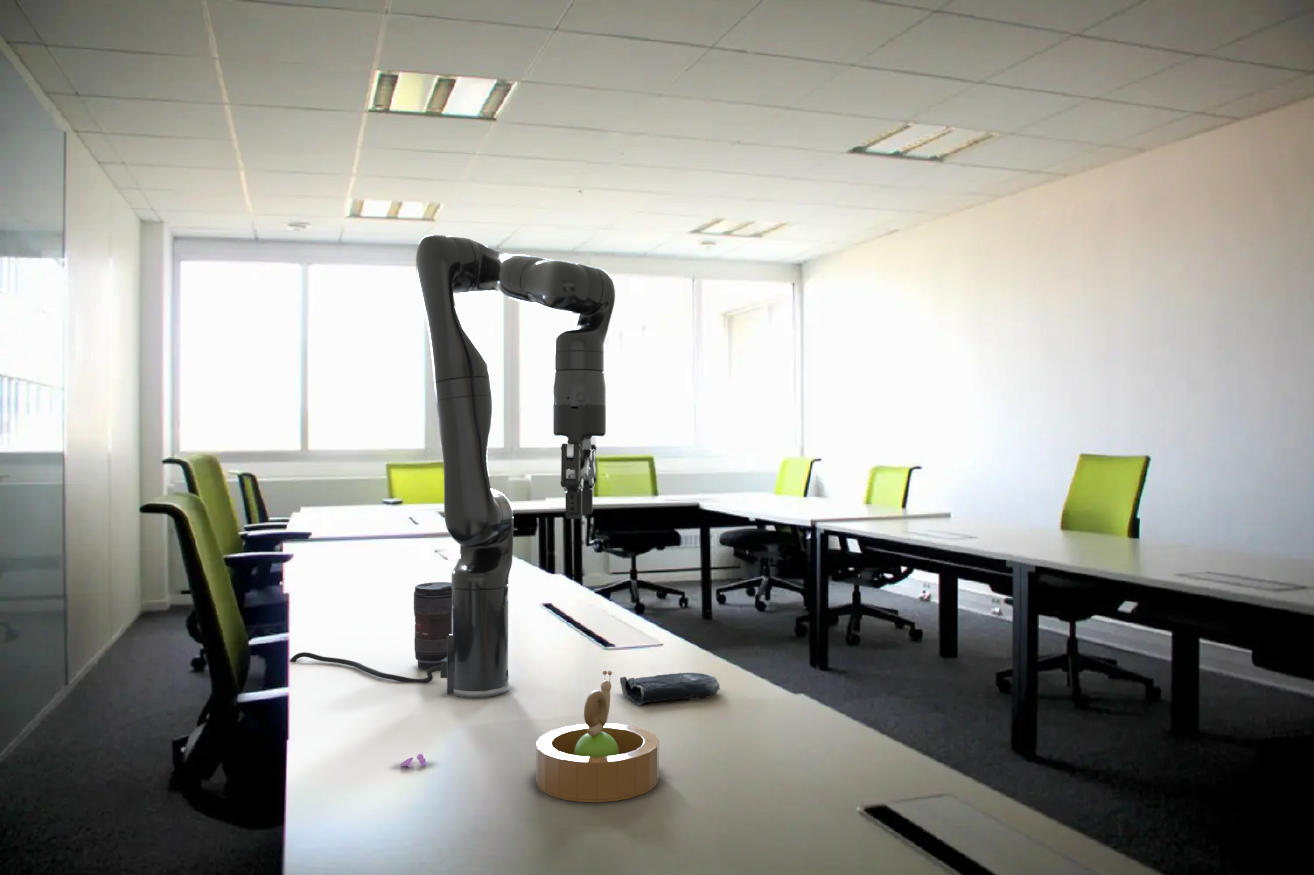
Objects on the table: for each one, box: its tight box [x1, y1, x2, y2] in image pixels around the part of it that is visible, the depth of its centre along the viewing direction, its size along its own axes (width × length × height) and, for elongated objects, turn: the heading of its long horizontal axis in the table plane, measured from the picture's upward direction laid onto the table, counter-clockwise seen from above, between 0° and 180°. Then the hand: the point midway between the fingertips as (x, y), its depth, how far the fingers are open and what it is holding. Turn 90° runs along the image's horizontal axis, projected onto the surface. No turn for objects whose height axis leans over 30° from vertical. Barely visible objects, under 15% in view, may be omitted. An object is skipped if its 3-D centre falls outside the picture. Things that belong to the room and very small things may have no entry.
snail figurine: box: [574, 670, 619, 757], centre depth 109 cm, size 5×6×12 cm
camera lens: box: [413, 581, 452, 671], centre depth 167 cm, size 8×8×15 cm
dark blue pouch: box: [619, 672, 721, 706], centre depth 147 cm, size 9×6×15 cm
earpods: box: [399, 753, 428, 768], centre depth 114 cm, size 3×2×2 cm
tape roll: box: [535, 723, 660, 803], centre depth 109 cm, size 15×15×4 cm
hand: (579, 516), depth 130 cm, fingers open, 8 cm apart
